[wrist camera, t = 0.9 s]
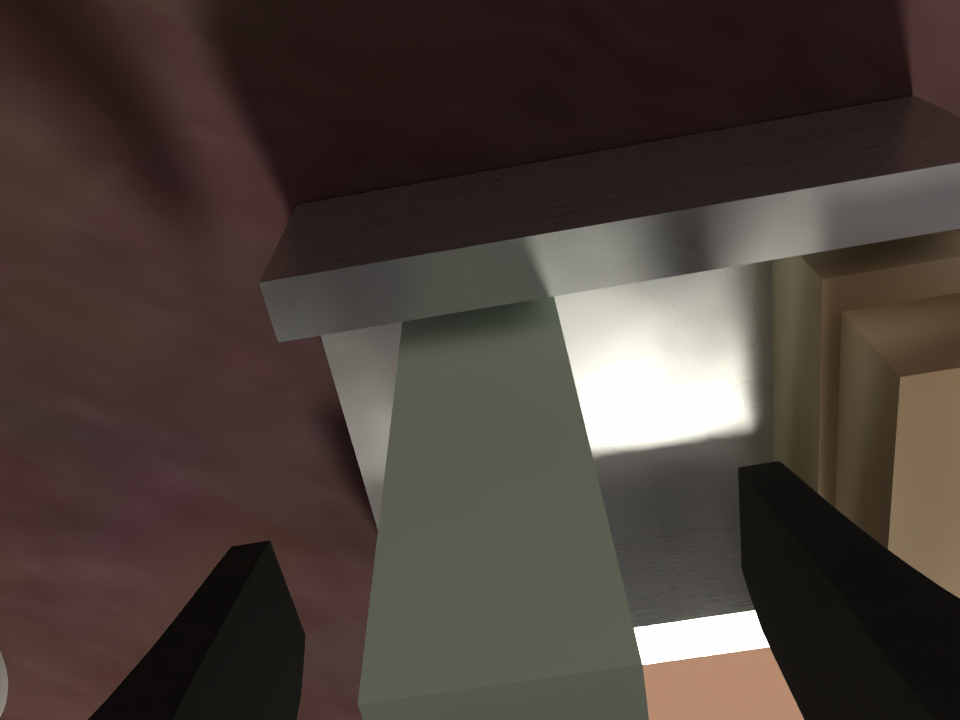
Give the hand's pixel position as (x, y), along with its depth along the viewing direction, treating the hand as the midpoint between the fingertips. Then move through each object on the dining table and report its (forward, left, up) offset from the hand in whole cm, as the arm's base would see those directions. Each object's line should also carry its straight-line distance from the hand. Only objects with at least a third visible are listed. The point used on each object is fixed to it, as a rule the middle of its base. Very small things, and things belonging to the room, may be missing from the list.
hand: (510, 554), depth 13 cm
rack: (-3, 0, -5) cm, 6 cm away
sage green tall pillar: (0, 0, -4) cm, 4 cm away
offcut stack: (-7, 0, -4) cm, 8 cm away
